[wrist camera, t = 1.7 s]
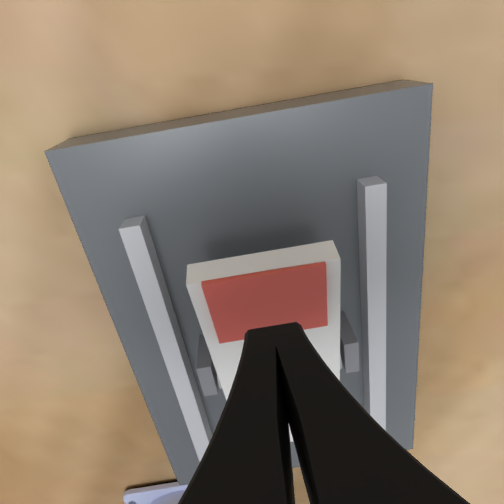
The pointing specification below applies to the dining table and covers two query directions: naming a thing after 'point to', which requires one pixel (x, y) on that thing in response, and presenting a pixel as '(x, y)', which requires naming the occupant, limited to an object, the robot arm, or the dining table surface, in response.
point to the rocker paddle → (268, 301)
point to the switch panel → (259, 238)
